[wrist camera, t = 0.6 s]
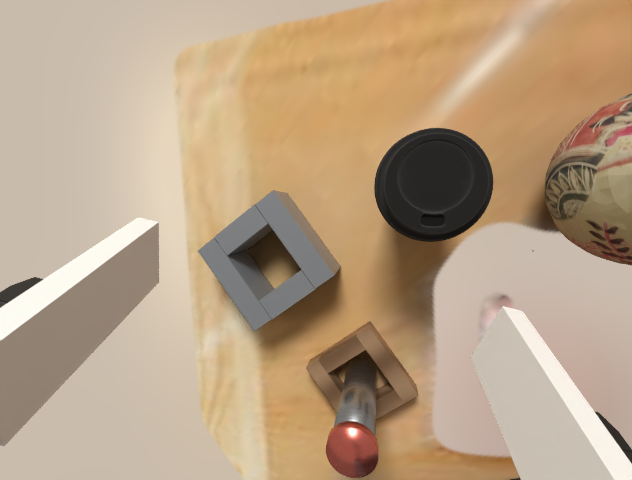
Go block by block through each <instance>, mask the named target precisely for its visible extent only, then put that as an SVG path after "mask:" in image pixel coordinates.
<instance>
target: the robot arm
mask: <svg viewBox="0 0 632 480" xmlns="http://www.w3.org/2000/svg"><path fill="white" fill-rule="evenodd" d="M158 227H159V222H156V221H152V220H147V219H143V218H139V217H138V218H137V219H135V220H133V221H132V222H130V223H129V224H127V225H126V226H124V227H123V228H122V229H120V230H118V231H117V232H115V233H114V234H112V235H111V236H109V237H107V238H106V239H104V240H103V241H101V242H100V243H99V244H97V245H95V246H94V247H92V248H91V249H89V250H88V251H86V252H85V253H83V254H82V255H80V256H79V257H77V258H75V259H74V260H72V261H71V262H69V263H68V264H66V265H65V266H63V267H62V268H60V269H59V270H57V271H56V272H54V273H53V274H51V275H50V276H48V277H47V278H45V279H40V278H36V277H34V278H31V279H28V280H25V281H23V282H20V283H17V284H14V285H12V286H10V287H8V288H6V289H5V290H3V291H2V292H0V445H2V446H5V445H6V444H7V443H8V442H9V441H10V440H11V438H12V437H13V436H14V435H15V434H16V433H17V432H18V431H19V430H20V429H21V428H22V427H23V426H24V425H25V424H26V423H27V421H28V420H29V419H30V418H31V417H32V416H33V415H34V414H35V413H36V412H37V411H38V410H39V408H41V406H43V405H44V403H45V402H46V401H47V400H48V399H49V398H50V397H51V396H52V395H53V394H54V393H55V392H56V391H57V390H58V389H59V388H60V386H61V385H62V384H63V383H64V382H65V381H66V380H67V379H68V378H69V377H70V376H71V375H72V374H73V373H74V372H75V371H76V370H77V368H78V367H79V366H80V365H81V364H82V363H83V362H84V361H85V360H86V359H87V358H88V357H89V356H90V355H91V353H93V352H94V350H95V349H96V348H97V347H98V346H99V345H100V344H101V343H102V342H103V341H104V340H105V339H106V338H107V337H108V336H109V335H110V334H111V332H112V331H113V330H114V329H115V328H116V327H117V326H118V325H119V324H120V323H121V322H122V321H123V320H124V319H125V318H126V317H127V315H128V314H129V313H130V312H131V311H132V310H133V309H134V308H135V307H136V306H137V305H138V304H139V303H140V302H141V301H142V300H143V299H144V297H145V296H146V295H147V294H148V293H149V292H150V291H151V290H152V289H153V288H154V287H155V286H156V285H157V284H158V283H159V228H158ZM471 360H472V363H473V365H474V368H475V370H476V373H477V375H478V377H479V380H480V382H481V385H482V387H483V389H484V392H485V394H486V396H487V399H488V402H489V404H490V406H491V409H492V411H493V414H494V416H495V418H496V421H497V423H498V426H499V428H500V430H501V433H502V435H503V438H504V440H505V443H506V445H507V447H508V450H509V452H510V455H511V457H512V460H513V462H514V464H515V467H516V469H517V472H518V474H519V476H520V478H517V479H511V480H632V449H631V448H630V447H629V445H628V444H627V443H626V441H625V440H624V438H623V437H622V436H621V434H620V433H619V432H618V431H617V430H616V429H615V428H614V427H613V426H612V425H611V424H610V423H609V422H608V421H607V420H606V419H605V418H604V417H603V416H602V415H601V414H600V413H598V412H594V410H593V409H592V408H591V406H590V405H589V404H588V402H587V401H586V399H585V398H584V396H583V395H582V394H581V392H580V391H579V390H578V388H577V387H576V385H575V384H574V383H573V381H572V380H571V379H570V377H569V376H568V374H567V373H566V371H565V370H564V369H563V367H562V366H561V364H560V363H559V362H558V360H557V359H556V358H555V356H554V355H553V353H552V352H551V351H550V349H549V348H548V346H547V345H546V344H545V342H544V341H543V339H542V338H541V336H540V335H539V334H538V332H537V331H536V330H535V328H534V327H533V325H532V324H531V323H530V321H529V320H528V319H527V317H526V316H525V314H524V313H523V311H520V310H516V309H512V308H508V307H504V306H502V307H501V309H500V311H499V312H498V314H497V315H496V317H495V319H494V320H493V322H492V324H491V325H490V327H489V328H488V330H487V332H486V333H485V335H484V337H483V338H482V340H481V341H480V343H479V345H478V346H477V348H476V349H475V351H474V353H473V354H472V356H471Z"/></svg>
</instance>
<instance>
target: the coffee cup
mask: <svg viewBox="0 0 632 480" xmlns="http://www.w3.org/2000/svg"><path fill="white" fill-rule="evenodd" d="M492 190H493V174H492V169H491V166H490V163H489V160H488V158H487V156H486V155H485V153H484V151H483V150H482V149H481V148H480V146H479V145H478V144H477V143H476V142H474V141H473V140H472V139H471V138H469V137H468V136H466V135H464V134H462V133H460V132H457V131H454V130H450V129H444V128H430V129H424V130H420V131H417V132H414V133H412V134H409V135H407V136H406V137H404V138H402V139H401V140H399V141H398V142H397V143H395V144H394V145H393V146H392V147H391V148H390V149H389V150H388V152H387V153H386V154H385V156H384V157H383V159H382V161H381V162H380V165H379V167H378V170H377V173H376V177H375V198H376V202H377V205H378V208H379V210H380V212H381V214H382V216H383V217H384V219H385V220H386V221H387V222H388V224H389V225H390V226H391V227H393V228H394V229H395V230H396V231H398V232H399V233H401V234H403V235H404V236H407V237H409V238H412V239H415V240H419V241H428V242H433V241H442V240H446V239H450V238H453V237H455V236H457V235H459V234H461V233H463V232H465V231H466V230H467V229H469V228H470V227H471V226H473V225H474V224H475V223H476V222H477V221H478V220H479V218H480V217H481V216H482V214H483V213H484V211H485V210H486V208H487V206H488V204H489V201H490V199H491V195H492Z"/></svg>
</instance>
